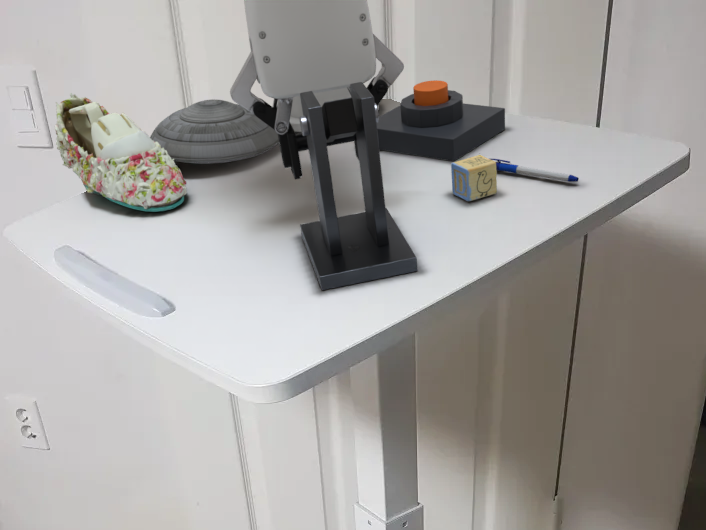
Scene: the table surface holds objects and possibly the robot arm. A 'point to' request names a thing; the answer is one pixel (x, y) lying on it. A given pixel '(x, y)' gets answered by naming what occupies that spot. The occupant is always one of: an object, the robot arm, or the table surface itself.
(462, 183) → the alphabet block
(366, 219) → the bracket
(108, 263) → the table surface
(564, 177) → the ballpoint pen
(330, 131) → the lever
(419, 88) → the button
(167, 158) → the ballet flat
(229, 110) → the flying saucer
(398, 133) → the control block
